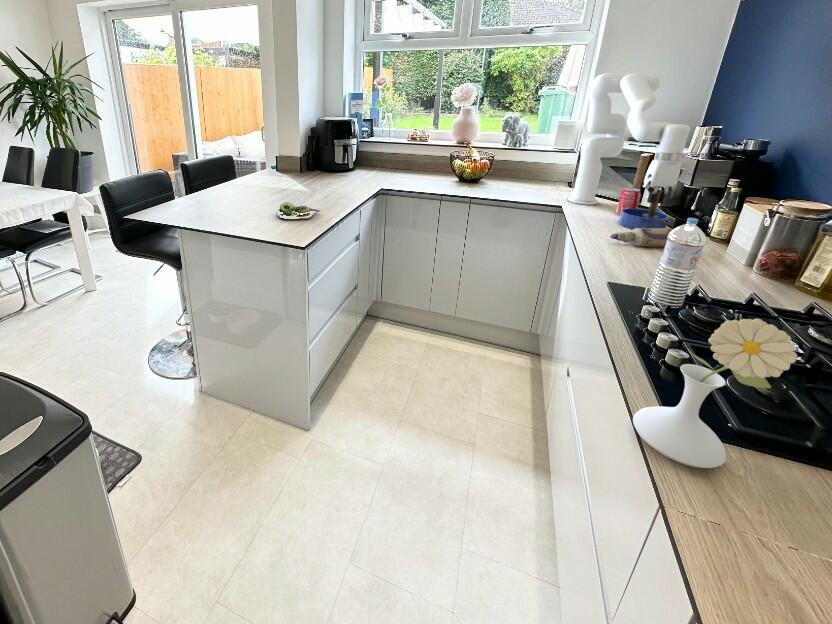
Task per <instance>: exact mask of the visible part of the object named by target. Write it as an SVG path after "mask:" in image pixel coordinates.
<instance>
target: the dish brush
mask: <svg viewBox="0 0 832 624" xmlns="http://www.w3.org/2000/svg"><path fill="white" fill-rule="evenodd" d="M661 193H662V189H660V188H658V190H657V193H656V194H657V197H656V201H655V203H654V204H651V203H649V206H648V209H647V210H648V214H643V215H642V217H643V218H652V219H658V218H659V216H657V215H655V213H656V211H657V210H658V206H659V200H660V197H661Z"/></svg>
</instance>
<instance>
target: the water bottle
mask: <svg viewBox="0 0 832 624" xmlns="http://www.w3.org/2000/svg"><path fill="white" fill-rule="evenodd" d="M686 220H687V221H686V223H685V224H682V225H679V226H676V227H675V228H672V229H673V230H671V231H670V232H669V234H668V237H667V238H668V239H667V242H666V245H665V247H663V251H662V254H661V257H660V260H659V261H658V264H657V268H656V271H655V275H654V276H653V279H652V283H651V286H650V289H649V292H648V294H647V297H646V298H647V299H646V301H647V302H649V303H652V304H653V303H660V304H662V305H669V306H670V307H671V308H679V307H681V306H682V307H683V305H684V302H685V299H686V296H687V294H688V292H689V289H690V286H691V283H692V280H693V278H694V275H695V272H696V268H697V266H698V262H699V259H700V257H701V254H702V251H703V248H704V246H705V245H706V242H707V237H706V234H705V233H704V232H703V230H702V229H701V228H700V227H699V226H697V224H698V223H699V219H698V218H694V217H688V218H687V219H686Z"/></svg>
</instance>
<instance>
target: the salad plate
mask: <svg viewBox="0 0 832 624" xmlns="http://www.w3.org/2000/svg"><path fill="white" fill-rule="evenodd" d="M278 211H280V212H283V214H280V215H281V216H283V215H286V216H294V215H297V213H295V212H298V213H306V212H310V211H316V212H315V213H319V212H321V210H320V209H315V208H312V207H310V206H307V205H298V206H294V204H293V203H291V202H287V201H286V202H283V203H281V204H280V206H279V209H278ZM293 211H295V212H293ZM315 213H314V214H315ZM314 214H313V216H314ZM277 215H278V214H277V213H276V217H277V218H278V219H279V220H283V219H284V218H280V217H278V216H277ZM280 215H279V216H280ZM309 215H310V213H307V214H303V215H300V214H299V215H297V216H296V217H305V216H309ZM300 219H301V218H300ZM308 219H309V220H310V219H312V217H309V218H304V219H303V220H308Z"/></svg>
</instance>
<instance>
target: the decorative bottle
mask: <svg viewBox="0 0 832 624" xmlns="http://www.w3.org/2000/svg"><path fill="white" fill-rule="evenodd" d="M673 229H674V228H664V229H663V228H662V229H660V228H635V229H631V231H624V232H616V233H611V234H610V237H609V238H610V239H612V240H615V241H619V242H623V243H629V244H632V245H633V246H635V247H645V248H646V247H648V248H649V247H650V248H653V247H654V248H665V245H666V242H667V239H668V238H667V237H668V234H669V232H670V231H671V230H673Z"/></svg>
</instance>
